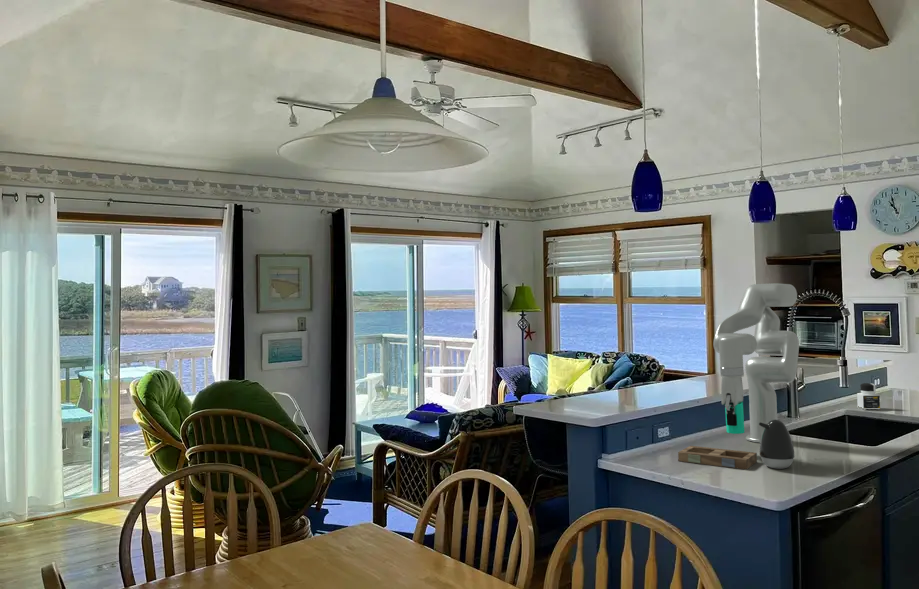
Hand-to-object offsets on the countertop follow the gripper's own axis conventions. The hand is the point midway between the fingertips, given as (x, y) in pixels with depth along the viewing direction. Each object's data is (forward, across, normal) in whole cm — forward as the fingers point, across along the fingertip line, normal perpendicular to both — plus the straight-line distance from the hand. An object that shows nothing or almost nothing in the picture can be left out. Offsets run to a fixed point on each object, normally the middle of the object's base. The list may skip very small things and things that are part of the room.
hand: (734, 422), depth 238 cm
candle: (+3, 0, 0) cm, 3 cm away
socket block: (+10, +14, -2) cm, 17 cm away
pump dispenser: (+11, +12, +16) cm, 22 cm away
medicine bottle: (+18, -122, +24) cm, 126 cm away
